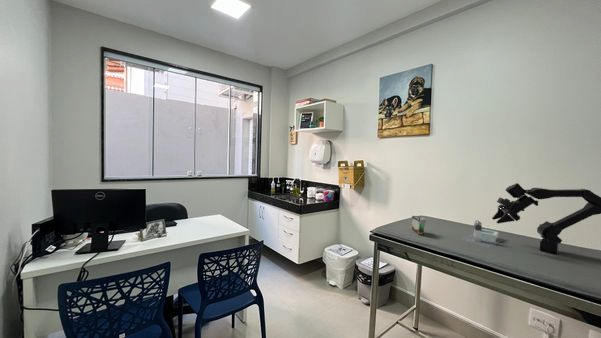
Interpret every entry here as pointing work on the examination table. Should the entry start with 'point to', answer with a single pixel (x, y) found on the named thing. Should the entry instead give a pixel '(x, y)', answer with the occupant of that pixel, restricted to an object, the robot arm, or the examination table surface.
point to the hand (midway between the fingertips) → (494, 220)
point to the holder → (489, 235)
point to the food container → (418, 225)
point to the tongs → (477, 231)
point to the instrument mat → (482, 242)
